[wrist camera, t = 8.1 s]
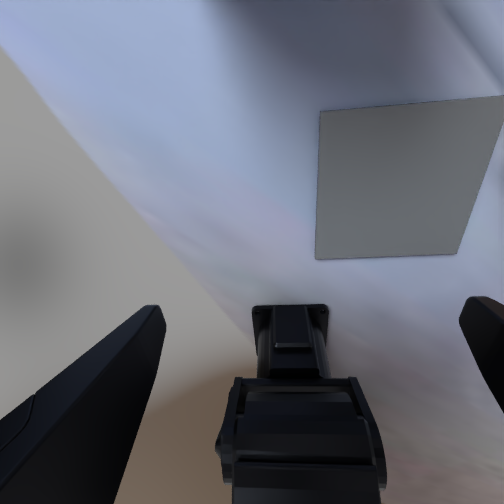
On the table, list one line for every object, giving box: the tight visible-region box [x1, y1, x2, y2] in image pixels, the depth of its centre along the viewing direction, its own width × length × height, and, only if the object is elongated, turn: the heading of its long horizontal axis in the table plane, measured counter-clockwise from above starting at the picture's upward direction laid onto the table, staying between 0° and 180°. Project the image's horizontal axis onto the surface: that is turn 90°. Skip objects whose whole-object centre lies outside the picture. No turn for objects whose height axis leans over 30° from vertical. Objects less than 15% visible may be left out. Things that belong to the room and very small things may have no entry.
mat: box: [315, 95, 504, 259], centre depth 18 cm, size 10×10×1 cm
